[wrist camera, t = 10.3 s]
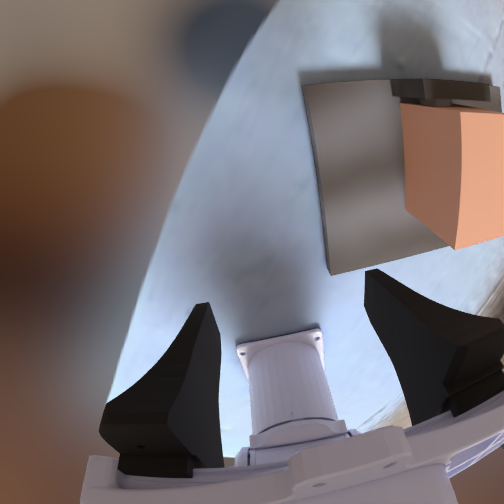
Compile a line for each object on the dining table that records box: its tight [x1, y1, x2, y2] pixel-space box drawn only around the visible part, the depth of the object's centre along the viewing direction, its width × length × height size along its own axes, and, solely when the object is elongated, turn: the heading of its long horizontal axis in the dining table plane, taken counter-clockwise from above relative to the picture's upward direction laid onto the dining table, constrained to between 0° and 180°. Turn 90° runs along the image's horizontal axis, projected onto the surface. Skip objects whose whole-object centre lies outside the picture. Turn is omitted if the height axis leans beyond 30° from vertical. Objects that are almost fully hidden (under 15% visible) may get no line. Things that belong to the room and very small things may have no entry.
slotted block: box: [400, 103, 504, 250], centre depth 16 cm, size 8×5×6 cm, turn 11°
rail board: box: [302, 79, 502, 276], centre depth 18 cm, size 14×18×5 cm
